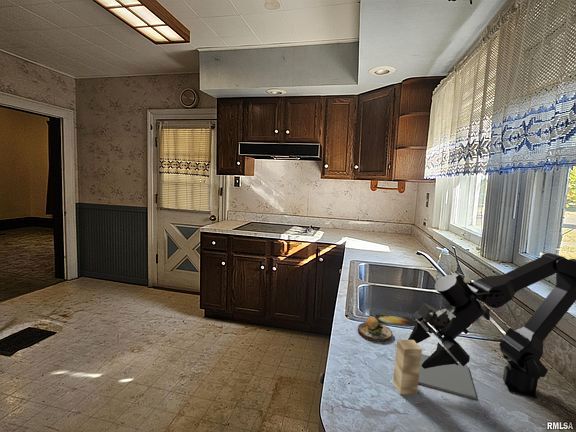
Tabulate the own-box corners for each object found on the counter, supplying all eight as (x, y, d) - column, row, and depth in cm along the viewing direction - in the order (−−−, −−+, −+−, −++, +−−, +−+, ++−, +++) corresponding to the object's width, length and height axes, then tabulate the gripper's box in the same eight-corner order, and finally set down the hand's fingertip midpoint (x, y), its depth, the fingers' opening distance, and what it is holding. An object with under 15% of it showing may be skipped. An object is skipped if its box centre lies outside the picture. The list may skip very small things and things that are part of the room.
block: (409, 382, 85) (413, 339, 83) (416, 394, 80) (421, 349, 79) (393, 382, 85) (397, 339, 83) (400, 394, 80) (404, 349, 78)
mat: (467, 366, 93) (467, 364, 93) (475, 399, 79) (476, 397, 79) (403, 351, 100) (403, 349, 100) (401, 379, 86) (401, 377, 86)
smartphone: (417, 326, 117) (376, 322, 118) (417, 327, 117) (376, 324, 118) (411, 317, 124) (373, 314, 125) (411, 319, 124) (373, 315, 125)
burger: (393, 345, 104) (395, 324, 102) (357, 340, 106) (359, 319, 105) (389, 328, 115) (391, 309, 114) (357, 324, 117) (358, 305, 116)
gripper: (423, 282, 89) (381, 318, 89) (464, 312, 70) (411, 356, 71) (446, 309, 90) (405, 344, 91) (492, 345, 72) (440, 388, 73)
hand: (414, 356), depth 81 cm, fingers open, 9 cm apart
